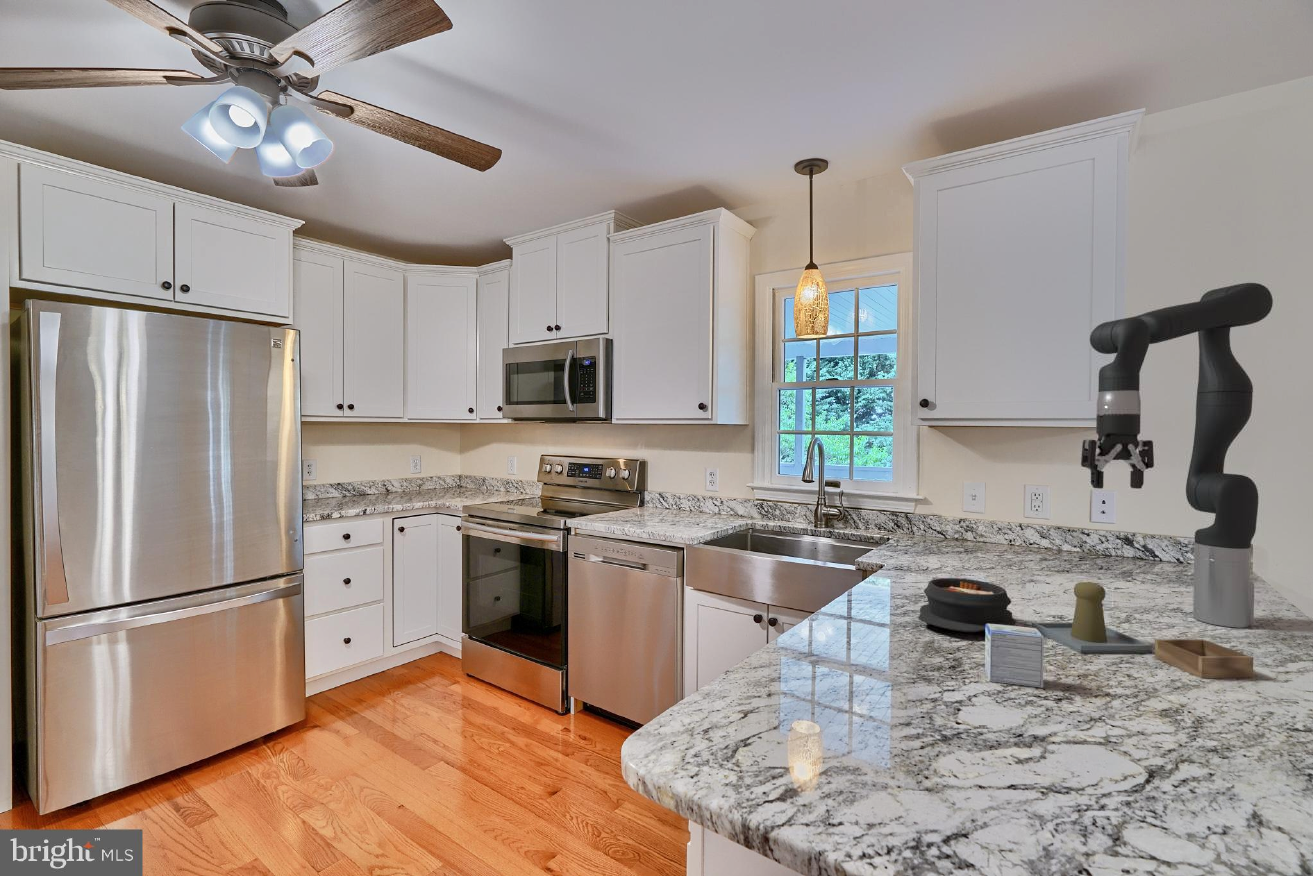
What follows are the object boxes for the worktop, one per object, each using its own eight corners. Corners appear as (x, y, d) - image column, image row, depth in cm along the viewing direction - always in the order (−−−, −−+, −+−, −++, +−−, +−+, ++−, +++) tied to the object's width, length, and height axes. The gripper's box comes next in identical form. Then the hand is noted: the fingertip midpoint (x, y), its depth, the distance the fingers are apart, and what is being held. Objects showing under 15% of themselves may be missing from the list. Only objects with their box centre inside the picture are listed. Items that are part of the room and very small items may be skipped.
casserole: (947, 604, 147) (948, 570, 147) (1033, 623, 133) (1034, 585, 133) (896, 624, 131) (897, 586, 131) (988, 648, 117) (989, 605, 116)
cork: (1113, 643, 118) (1114, 587, 118) (1079, 641, 119) (1080, 586, 119) (1097, 633, 124) (1098, 580, 124) (1064, 631, 125) (1065, 578, 125)
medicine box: (1036, 678, 102) (1037, 627, 102) (1043, 689, 98) (1044, 636, 98) (984, 672, 105) (984, 622, 105) (989, 682, 101) (989, 630, 100)
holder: (1202, 657, 113) (1202, 639, 113) (1252, 677, 104) (1253, 657, 104) (1154, 658, 112) (1155, 639, 112) (1201, 678, 103) (1201, 657, 103)
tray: (1095, 629, 129) (1095, 622, 129) (1151, 653, 115) (1152, 645, 115) (1031, 629, 128) (1031, 622, 128) (1080, 653, 114) (1080, 645, 114)
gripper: (1135, 413, 134) (1134, 487, 134) (1073, 413, 133) (1071, 486, 133) (1165, 412, 126) (1164, 490, 126) (1099, 411, 126) (1098, 489, 126)
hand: (1116, 488), depth 130 cm, fingers open, 8 cm apart
